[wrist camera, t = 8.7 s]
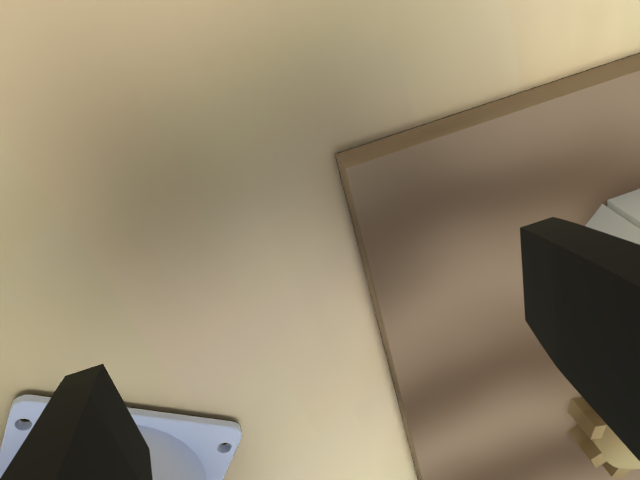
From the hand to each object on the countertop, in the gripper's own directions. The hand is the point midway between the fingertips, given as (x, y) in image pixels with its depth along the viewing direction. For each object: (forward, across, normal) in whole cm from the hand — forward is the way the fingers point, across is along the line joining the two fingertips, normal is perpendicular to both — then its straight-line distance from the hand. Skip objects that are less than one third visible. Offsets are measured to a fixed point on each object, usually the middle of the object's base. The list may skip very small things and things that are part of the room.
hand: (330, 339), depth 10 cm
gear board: (+9, -9, +12) cm, 18 cm away
